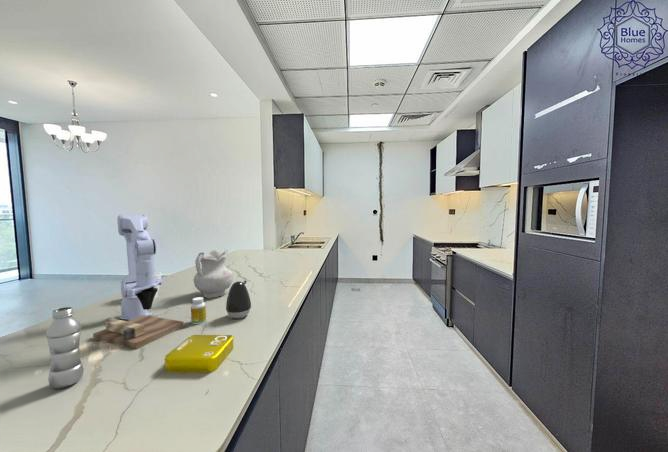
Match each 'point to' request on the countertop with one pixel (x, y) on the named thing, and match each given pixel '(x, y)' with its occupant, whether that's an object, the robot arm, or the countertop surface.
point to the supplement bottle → (198, 311)
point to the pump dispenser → (238, 300)
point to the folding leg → (123, 326)
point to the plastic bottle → (64, 349)
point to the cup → (157, 276)
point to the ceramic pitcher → (212, 274)
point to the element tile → (199, 354)
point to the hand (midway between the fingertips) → (147, 309)
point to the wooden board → (153, 331)
